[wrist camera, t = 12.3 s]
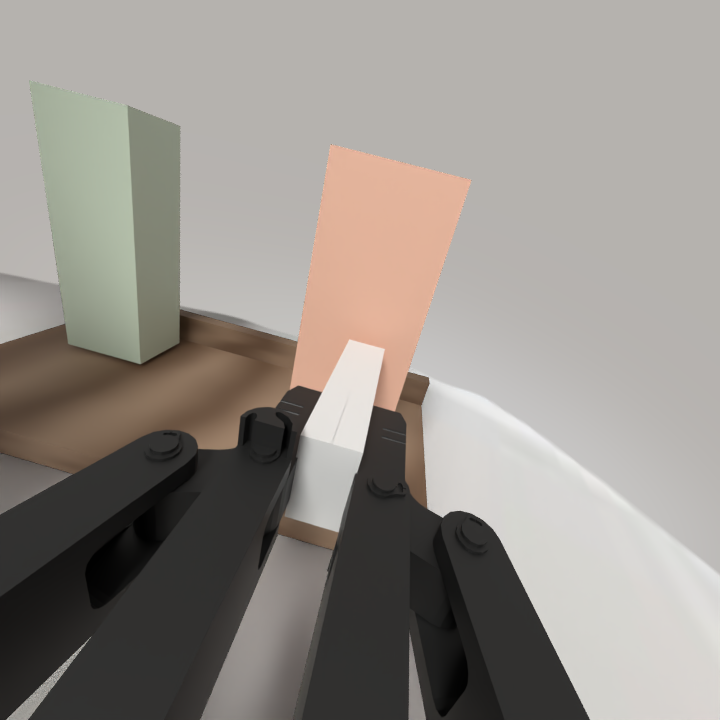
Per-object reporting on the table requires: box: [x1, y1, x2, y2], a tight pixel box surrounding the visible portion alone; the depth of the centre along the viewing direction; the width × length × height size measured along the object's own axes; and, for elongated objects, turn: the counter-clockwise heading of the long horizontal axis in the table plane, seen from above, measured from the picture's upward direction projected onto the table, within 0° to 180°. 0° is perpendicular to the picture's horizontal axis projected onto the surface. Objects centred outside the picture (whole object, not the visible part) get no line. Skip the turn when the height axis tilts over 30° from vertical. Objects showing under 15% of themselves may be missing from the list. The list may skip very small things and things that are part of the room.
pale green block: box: [29, 81, 180, 364], centre depth 21 cm, size 5×4×14 cm
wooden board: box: [0, 310, 429, 550], centre depth 22 cm, size 27×15×4 cm, turn 82°
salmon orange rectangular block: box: [290, 144, 471, 411], centre depth 16 cm, size 5×4×14 cm
